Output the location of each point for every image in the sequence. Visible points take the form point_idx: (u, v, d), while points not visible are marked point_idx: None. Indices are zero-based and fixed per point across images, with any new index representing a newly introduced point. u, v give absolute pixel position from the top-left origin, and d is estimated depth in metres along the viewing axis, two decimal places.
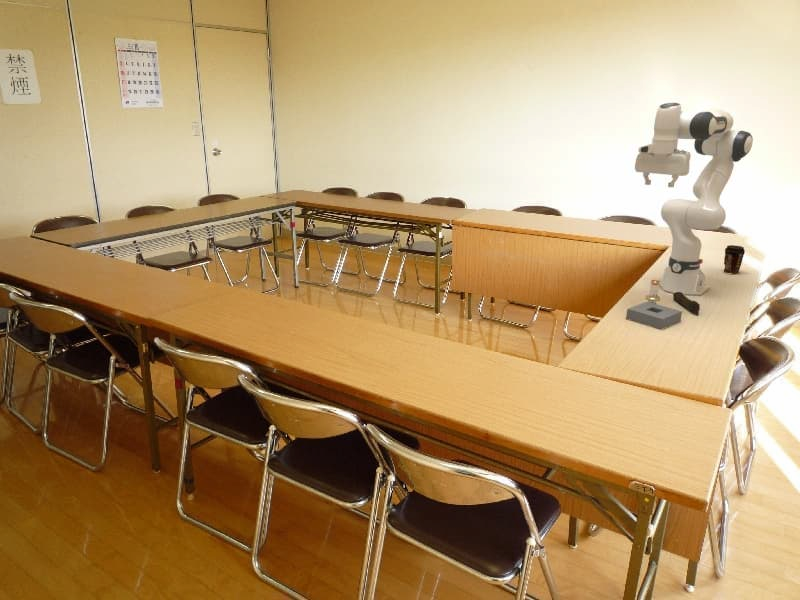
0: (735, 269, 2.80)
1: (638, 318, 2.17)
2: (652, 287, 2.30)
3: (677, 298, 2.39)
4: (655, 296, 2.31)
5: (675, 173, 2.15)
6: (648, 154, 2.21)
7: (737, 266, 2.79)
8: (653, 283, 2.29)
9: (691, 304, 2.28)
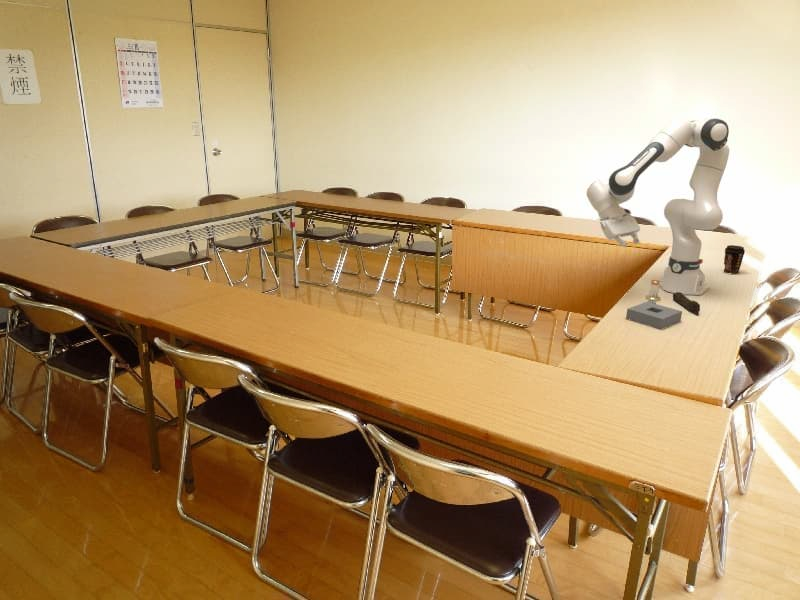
0: (735, 269, 2.80)
1: (638, 318, 2.17)
2: (652, 287, 2.30)
3: (677, 298, 2.39)
4: (655, 296, 2.31)
5: None
6: None
7: (737, 266, 2.79)
8: (653, 283, 2.29)
9: (691, 304, 2.28)
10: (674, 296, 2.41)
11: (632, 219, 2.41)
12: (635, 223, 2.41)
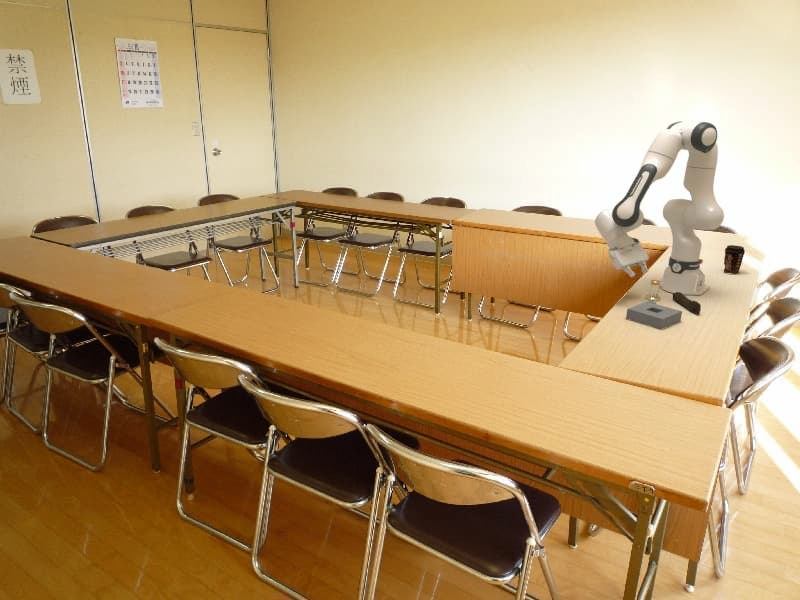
0: (735, 269, 2.80)
1: (638, 318, 2.17)
2: (652, 287, 2.30)
3: (677, 298, 2.39)
4: (655, 296, 2.31)
5: None
6: None
7: (737, 266, 2.79)
8: (653, 283, 2.29)
9: (692, 304, 2.28)
10: (674, 296, 2.41)
11: (641, 248, 2.41)
12: (644, 252, 2.41)
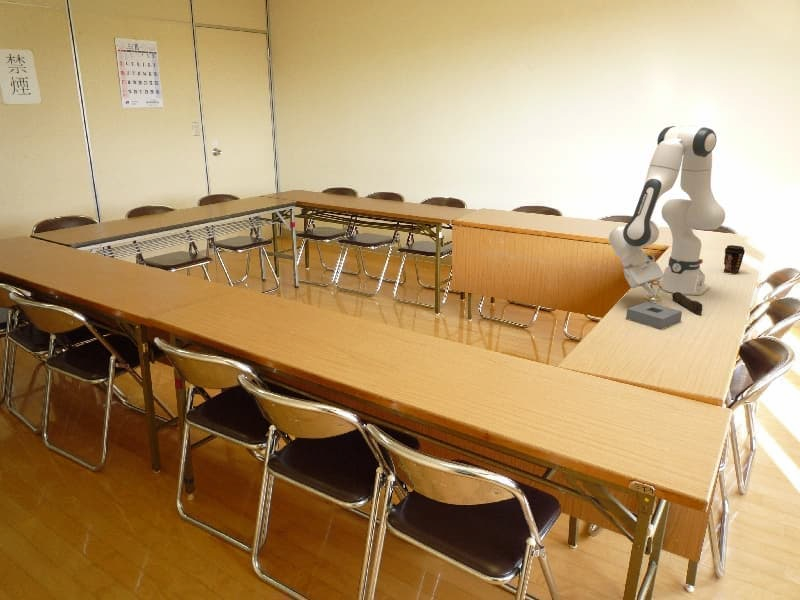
0: (735, 269, 2.80)
1: (638, 318, 2.17)
2: (652, 287, 2.30)
3: (677, 298, 2.39)
4: (655, 296, 2.31)
5: None
6: None
7: (737, 266, 2.79)
8: (653, 283, 2.29)
9: (693, 304, 2.28)
10: (674, 296, 2.41)
11: (655, 265, 2.37)
12: (659, 269, 2.37)
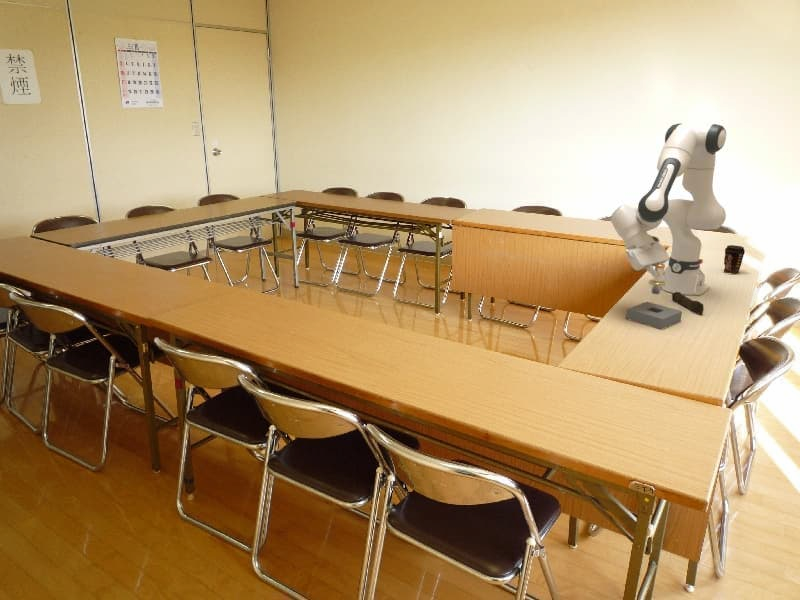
0: (735, 269, 2.80)
1: (638, 318, 2.17)
2: None
3: (677, 298, 2.39)
4: (660, 280, 2.15)
5: None
6: None
7: (737, 266, 2.79)
8: (658, 266, 2.14)
9: (694, 304, 2.28)
10: (673, 296, 2.41)
11: (661, 247, 2.22)
12: (664, 252, 2.21)
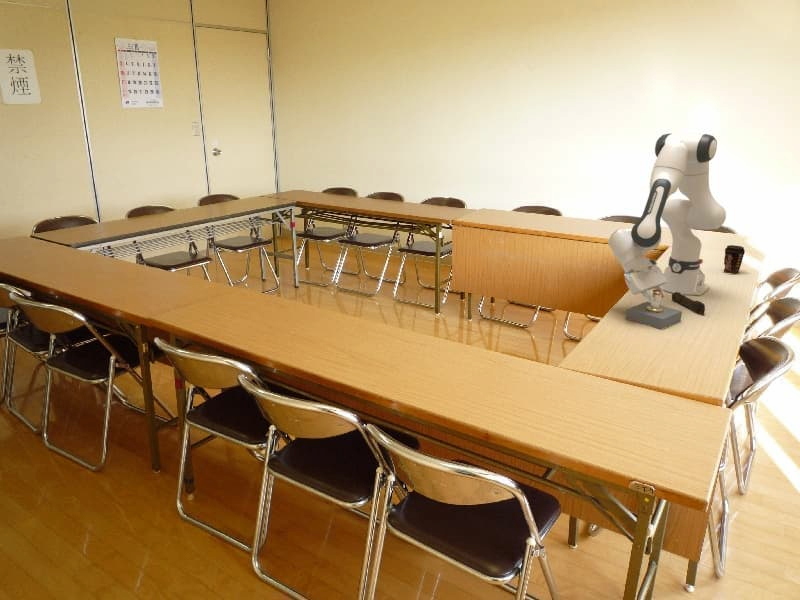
0: (735, 269, 2.80)
1: (638, 318, 2.17)
2: None
3: (677, 298, 2.39)
4: (657, 307, 2.17)
5: None
6: None
7: (737, 266, 2.79)
8: (655, 293, 2.16)
9: (696, 304, 2.28)
10: (673, 296, 2.41)
11: (658, 270, 2.23)
12: (661, 275, 2.23)
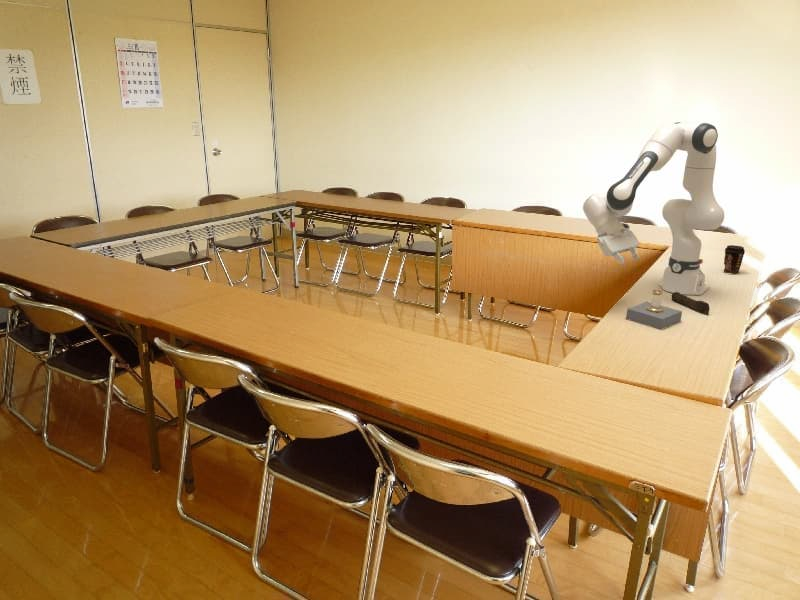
0: (735, 269, 2.80)
1: (638, 318, 2.17)
2: (654, 297, 2.17)
3: (677, 298, 2.39)
4: (657, 307, 2.17)
5: None
6: None
7: (737, 266, 2.79)
8: (655, 293, 2.16)
9: (699, 304, 2.28)
10: (673, 296, 2.41)
11: (631, 234, 2.32)
12: (634, 238, 2.31)
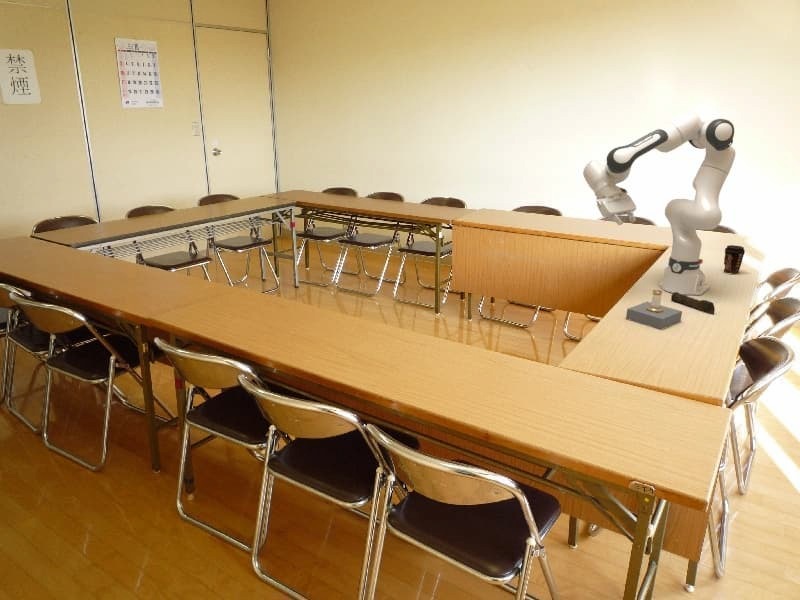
0: (735, 269, 2.80)
1: (638, 318, 2.17)
2: (654, 297, 2.17)
3: (678, 299, 2.39)
4: (657, 307, 2.17)
5: None
6: None
7: (737, 266, 2.79)
8: (655, 293, 2.16)
9: (704, 304, 2.28)
10: (673, 297, 2.40)
11: (628, 198, 2.43)
12: (631, 202, 2.43)
